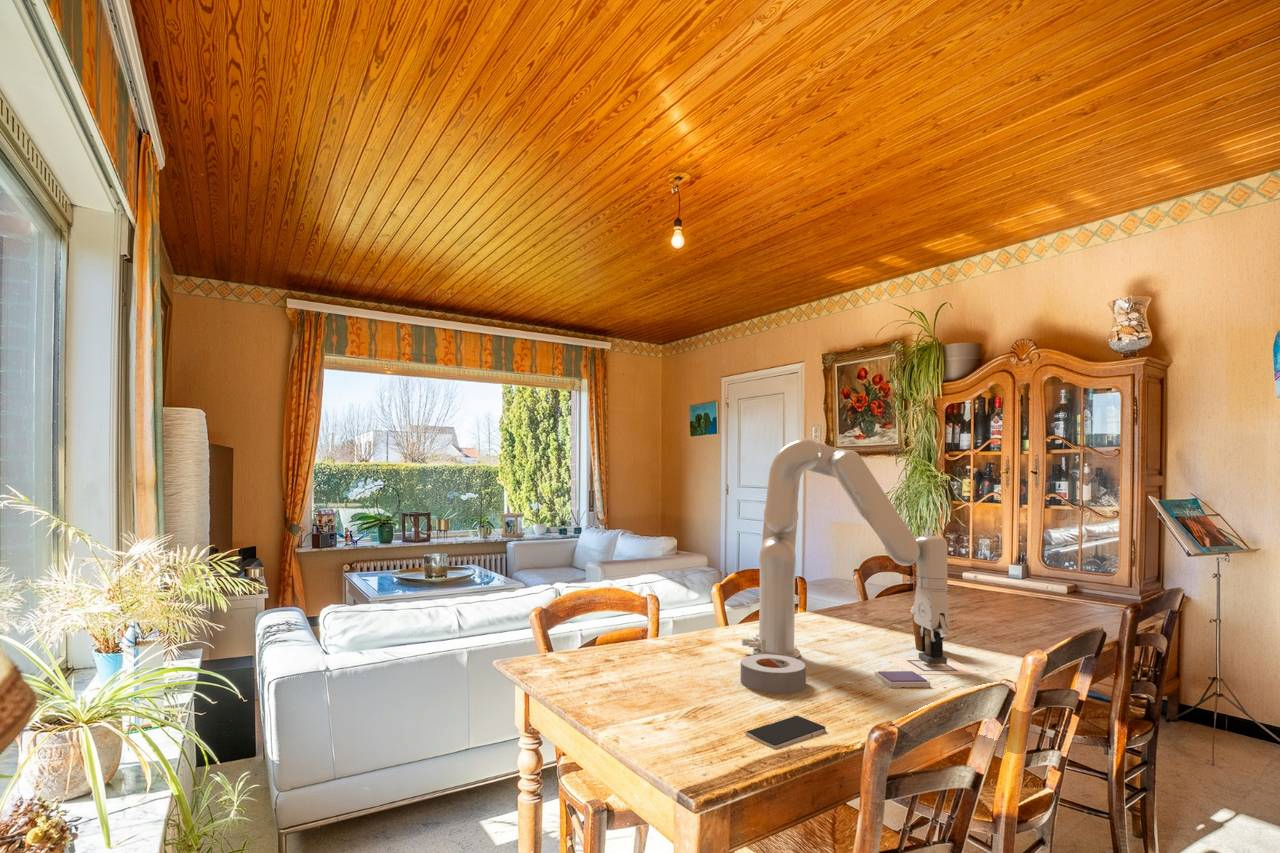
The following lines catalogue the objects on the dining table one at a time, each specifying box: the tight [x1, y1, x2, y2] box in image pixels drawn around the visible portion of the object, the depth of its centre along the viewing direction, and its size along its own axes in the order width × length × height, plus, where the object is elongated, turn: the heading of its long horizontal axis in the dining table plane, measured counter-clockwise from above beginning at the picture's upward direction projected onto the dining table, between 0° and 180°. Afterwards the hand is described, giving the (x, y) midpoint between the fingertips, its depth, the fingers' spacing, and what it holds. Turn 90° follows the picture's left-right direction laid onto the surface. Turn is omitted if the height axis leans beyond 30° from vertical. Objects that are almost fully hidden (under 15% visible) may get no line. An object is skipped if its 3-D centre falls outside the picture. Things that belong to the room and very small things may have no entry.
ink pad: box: [874, 670, 931, 689], centre depth 167 cm, size 10×8×2 cm
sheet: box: [886, 657, 980, 676], centre depth 180 cm, size 18×14×1 cm
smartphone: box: [744, 715, 826, 750], centre depth 134 cm, size 8×1×15 cm
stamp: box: [918, 628, 948, 664], centre depth 180 cm, size 5×5×9 cm
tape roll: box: [740, 654, 807, 695], centre depth 164 cm, size 15×15×5 cm
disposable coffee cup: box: [909, 605, 939, 653], centre depth 196 cm, size 10×10×12 cm
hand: (931, 653), depth 180 cm, fingers closed on stamp, 3 cm apart
